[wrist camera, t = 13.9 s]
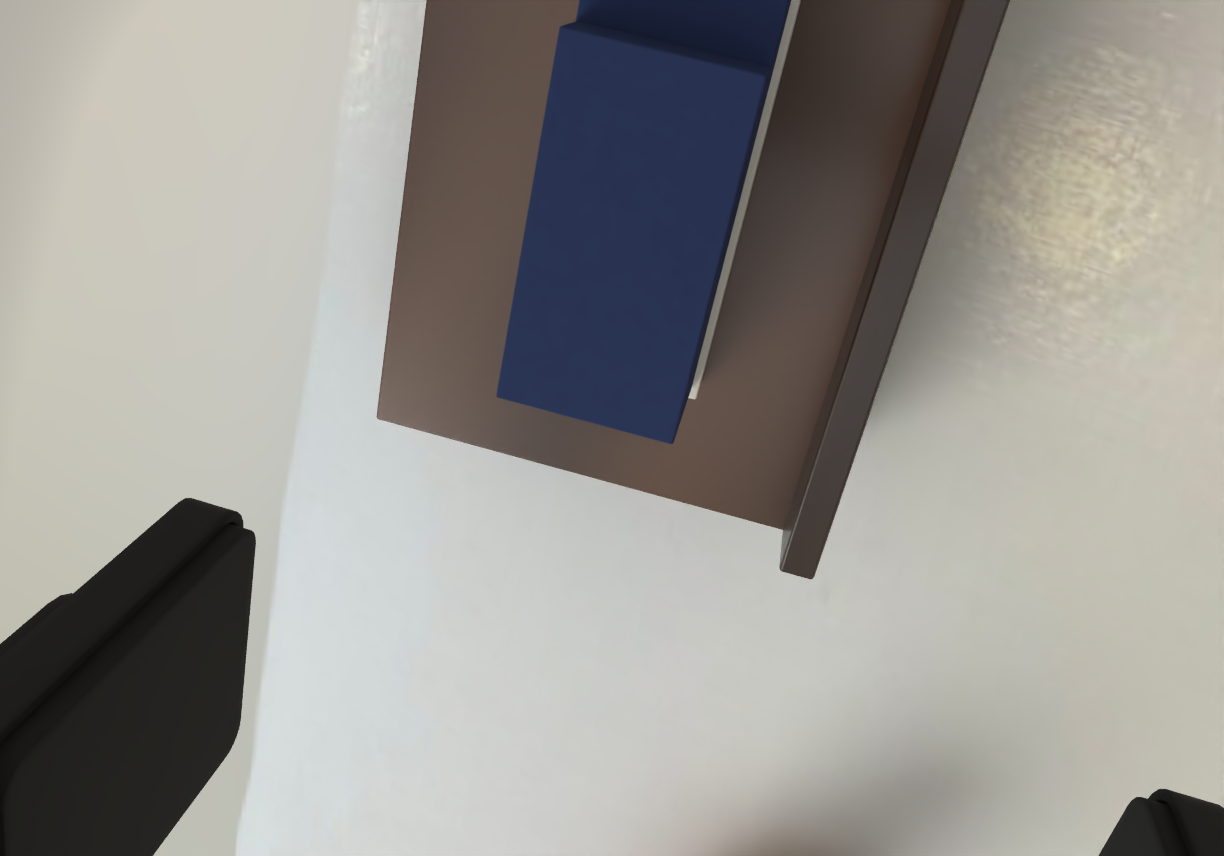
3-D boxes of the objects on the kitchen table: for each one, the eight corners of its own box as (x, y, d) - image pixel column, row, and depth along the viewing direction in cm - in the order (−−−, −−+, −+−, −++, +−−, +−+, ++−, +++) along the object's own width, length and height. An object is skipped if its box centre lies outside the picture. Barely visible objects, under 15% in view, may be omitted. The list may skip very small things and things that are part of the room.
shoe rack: (438, 353, 40) (344, 451, 32) (531, -291, 31) (432, -365, 23) (818, 455, 38) (813, 581, 31) (1025, -186, 30) (1088, -228, 22)
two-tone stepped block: (535, 341, 32) (485, 406, 28) (617, -106, 27) (573, -115, 22) (700, 384, 32) (677, 458, 27) (816, -60, 26) (812, -60, 22)
